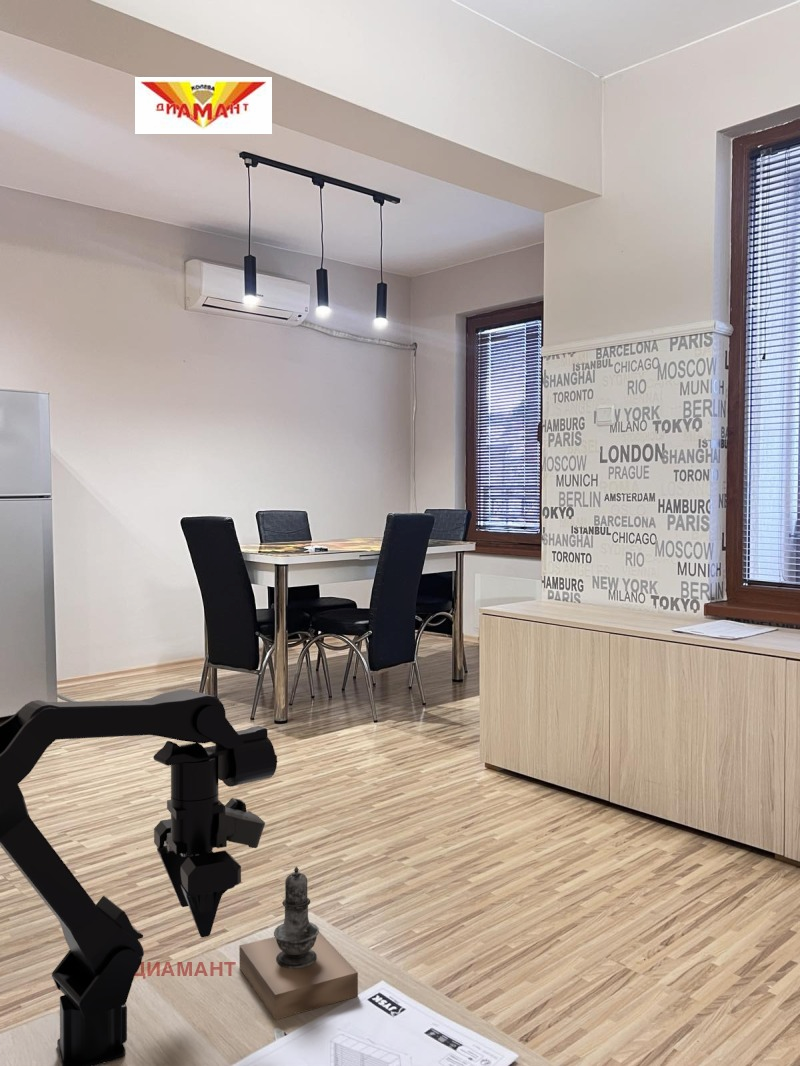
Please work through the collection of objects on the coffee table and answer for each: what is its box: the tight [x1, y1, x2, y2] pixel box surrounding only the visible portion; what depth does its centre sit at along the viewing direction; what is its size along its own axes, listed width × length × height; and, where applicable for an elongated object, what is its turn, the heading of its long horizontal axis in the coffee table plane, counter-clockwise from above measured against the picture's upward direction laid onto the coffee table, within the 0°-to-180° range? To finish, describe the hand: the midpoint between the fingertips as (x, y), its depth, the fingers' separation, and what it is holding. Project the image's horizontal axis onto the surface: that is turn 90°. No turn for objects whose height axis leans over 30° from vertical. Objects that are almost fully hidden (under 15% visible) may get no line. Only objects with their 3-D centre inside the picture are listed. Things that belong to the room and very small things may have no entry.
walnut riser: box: [238, 931, 359, 1020], centre depth 112 cm, size 11×14×3 cm
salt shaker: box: [273, 866, 320, 969], centre depth 112 cm, size 6×6×12 cm
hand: (195, 920), depth 105 cm, fingers open, 9 cm apart
